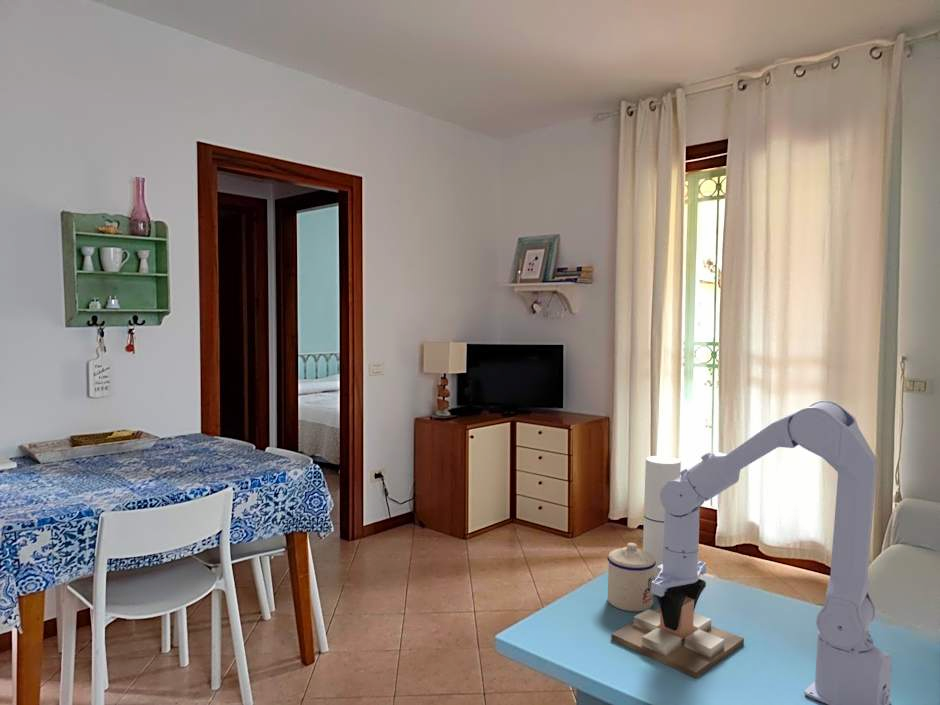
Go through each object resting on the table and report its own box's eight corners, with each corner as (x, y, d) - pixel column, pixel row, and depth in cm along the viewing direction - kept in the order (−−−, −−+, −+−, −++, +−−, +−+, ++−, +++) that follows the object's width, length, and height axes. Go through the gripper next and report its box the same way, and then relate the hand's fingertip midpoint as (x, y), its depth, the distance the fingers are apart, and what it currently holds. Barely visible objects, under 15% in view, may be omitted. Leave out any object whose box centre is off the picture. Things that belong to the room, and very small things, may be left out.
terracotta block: (692, 632, 117) (694, 599, 116) (680, 640, 114) (681, 606, 114) (672, 624, 120) (673, 591, 119) (659, 631, 117) (661, 598, 117)
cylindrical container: (641, 578, 143) (645, 462, 141) (642, 565, 150) (646, 454, 148) (676, 582, 141) (680, 465, 139) (676, 569, 148) (680, 457, 146)
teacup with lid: (653, 616, 126) (655, 555, 125) (604, 609, 129) (605, 549, 128) (655, 589, 138) (657, 533, 137) (609, 583, 140) (611, 529, 139)
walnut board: (743, 643, 116) (744, 629, 116) (695, 678, 106) (696, 663, 105) (661, 611, 128) (662, 598, 128) (611, 639, 117) (611, 625, 117)
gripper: (682, 531, 123) (679, 603, 124) (636, 550, 114) (633, 628, 115) (718, 542, 118) (715, 616, 119) (674, 563, 108) (671, 644, 110)
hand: (677, 623), depth 117 cm, fingers closed on terracotta block, 4 cm apart
